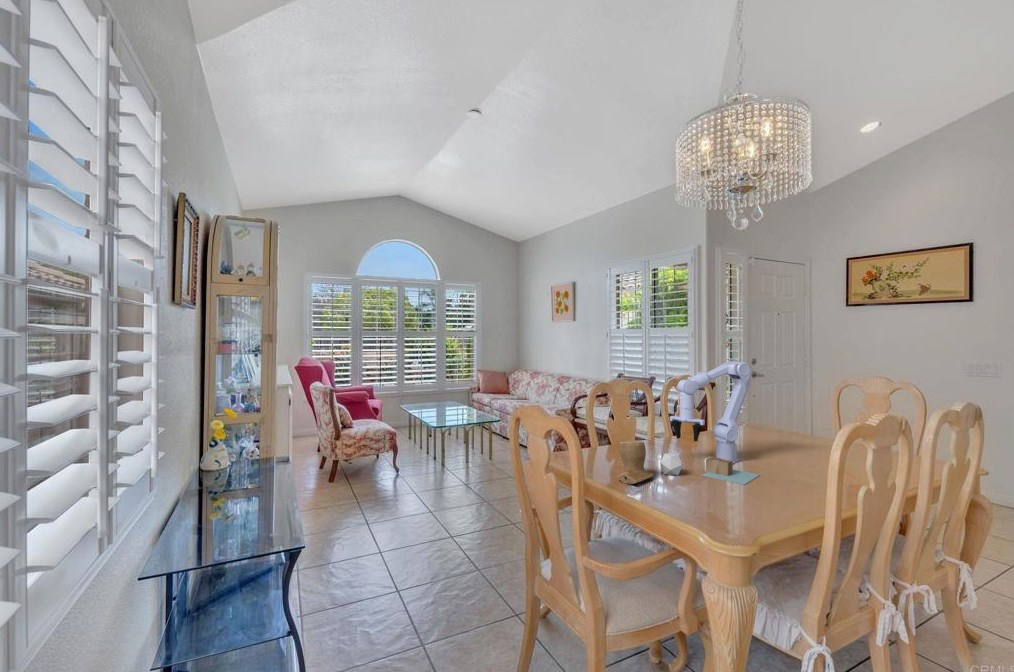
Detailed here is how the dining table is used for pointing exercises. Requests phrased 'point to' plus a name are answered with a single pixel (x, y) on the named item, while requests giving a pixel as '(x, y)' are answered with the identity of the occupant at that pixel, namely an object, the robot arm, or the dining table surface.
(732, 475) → the mat
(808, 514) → the dining table surface
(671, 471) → the die
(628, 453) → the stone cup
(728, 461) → the walnut block
